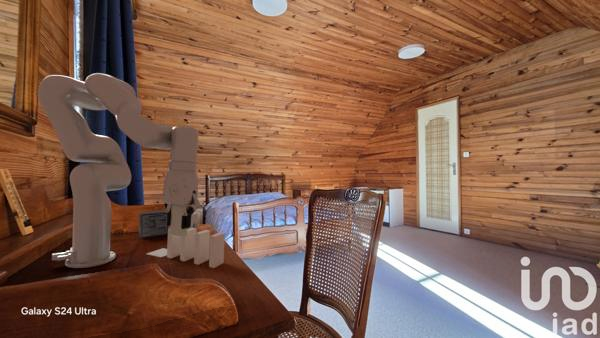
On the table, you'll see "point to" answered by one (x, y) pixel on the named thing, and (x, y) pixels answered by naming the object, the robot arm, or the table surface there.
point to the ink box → (194, 221)
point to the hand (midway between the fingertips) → (178, 225)
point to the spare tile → (177, 221)
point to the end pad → (159, 253)
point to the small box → (153, 224)
